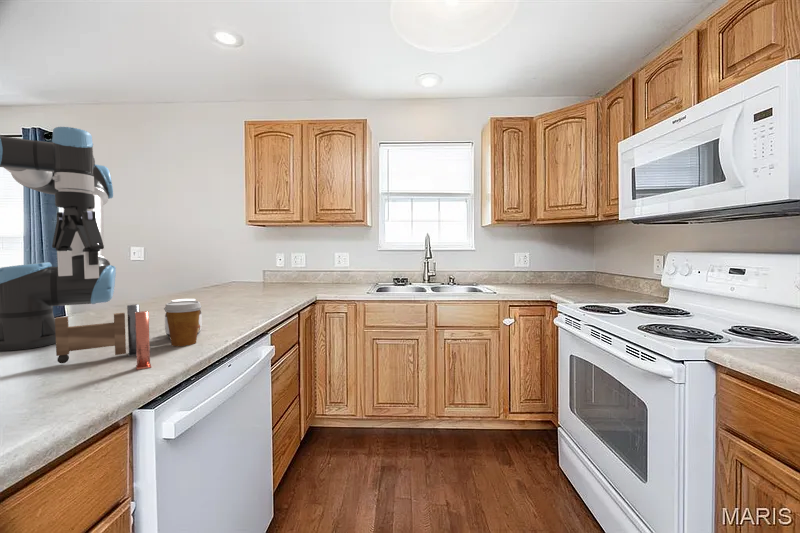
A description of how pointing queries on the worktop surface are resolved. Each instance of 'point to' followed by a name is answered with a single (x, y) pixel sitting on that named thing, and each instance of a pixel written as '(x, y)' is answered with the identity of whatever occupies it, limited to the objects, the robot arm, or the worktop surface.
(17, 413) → the worktop surface
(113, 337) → the gate
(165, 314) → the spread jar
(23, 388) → the worktop surface
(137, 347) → the gate posts
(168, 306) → the disposable coffee cup
